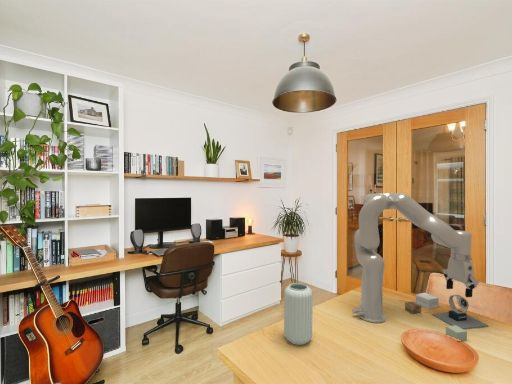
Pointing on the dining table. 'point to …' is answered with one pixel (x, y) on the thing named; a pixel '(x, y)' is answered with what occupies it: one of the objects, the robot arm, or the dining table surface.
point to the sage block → (456, 332)
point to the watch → (456, 313)
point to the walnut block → (413, 307)
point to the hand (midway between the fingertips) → (458, 292)
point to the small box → (427, 300)
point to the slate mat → (464, 324)
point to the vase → (298, 313)
